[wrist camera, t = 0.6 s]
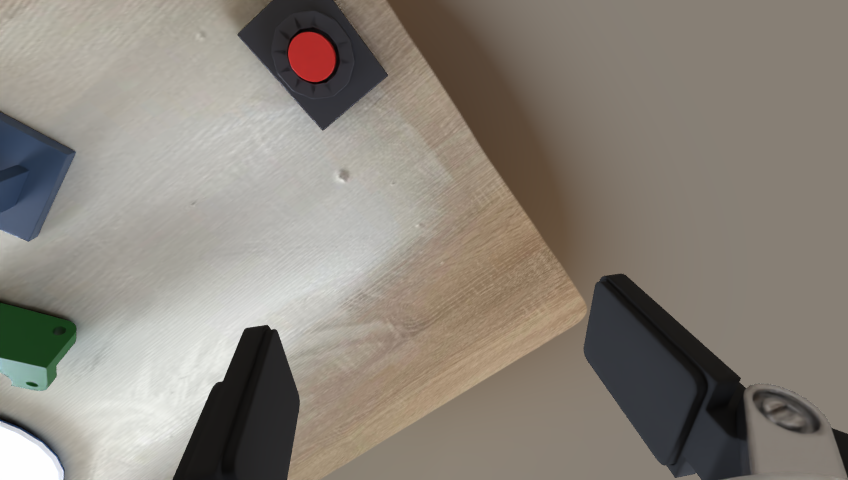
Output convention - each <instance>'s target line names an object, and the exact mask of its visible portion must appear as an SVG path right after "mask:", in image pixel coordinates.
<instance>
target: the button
mask: <svg viewBox="0 0 848 480" xmlns="http://www.w3.org/2000/svg"><path fill="white" fill-rule="evenodd" d="M288 57H289V62H290V64H291V67H292V68H293V70H294V71H295V73H296V74H297V75H298V76H300V77H301V78H303V79H305V80H307V81H311V82H318V81H322V80H324V79H326V78H327V77H328V76H329V75H330V74H331V73H332V72H333V70H334V68H335V65H336V53H335V50H334V47H333V46H332V44H331V42H330V41H329V40H328V39H327V38H326V37H324V36H323V35H321V34H319V33H315V32H303V33H300V34H298V35H297V36H296V37H294V39H293V40H292V41H291V43H290V46H289V50H288Z"/></svg>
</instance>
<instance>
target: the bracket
mask: <svg viewBox="0 0 848 480" xmlns="http://www.w3.org/2000/svg"><path fill="white" fill-rule="evenodd" d="M75 153H76V152H75V151H73V150H71V149H69V148H68V147H66V146H64V145H62V144H60V143H58V142H56V141H54V140H52V139H51V138H49V137H47V136H45V135H43V134H41V133H39V132H37V131H35V130H34V129H32V128H30V127H28V126H26V125H24V124H22V123H20V122H18V121H17V120H15V119H13V118H11V117H9V116H7V115H5V114H3V113H1V112H0V230H2V231H5V232H7V233H9V234H12V235H14V236H16V237H19V238H21V239H23V240H26V241H28V242H29V241H31V240H32V239H34V238H36V237H37V236H38V234H39V232H40V230H41V227H42V225H43V223H44V221H45V219H46V216H47V214H48V212H49V210H50V208H51V206H52V203H53V201H54V199H55V197H56V195H57V192H58V190H59V188H60V186H61V184H62V182H63V179H64V177H65V175H66V173H67V171H68V168H69V166H70V164H71V162H72V160H73V158H74V155H75Z"/></svg>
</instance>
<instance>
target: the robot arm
mask: <svg viewBox="0 0 848 480" xmlns="http://www.w3.org/2000/svg"><path fill="white" fill-rule="evenodd" d="M584 354H585V357H586V359H587V361H588V362H589V363H590V365H591V366H592V368H593V369H594V371H595V372H596V373H597V375H598V376H599V378H600V379H601V381H602V382H603V384H604V385H605V386H606V388H607V389H608V391H609V392H610V393H611V395H612V396H613V398H614V399H615V401H616V402H617V403H618V405H619V406H620V408H621V409H622V411H623V412H624V413H625V414H626V416H627V418H628V419H629V421H630V422H631V423H632V425H633V426H634V427H635V429H636V431H637V432H638V433H639V435H640V436H641V438H642V439H643V441H644V442H645V443H646V445H647V446H648V448H649V449H650V451H651V452H652V453H653V455H654V456H655V458H656V459H657V460H658V461H659V462H660V463H661V464H662V465H666V466H667V467H668V468H669V470H670V471H671V472H672V474H673V475H674V477H675V478H677V477H682V476H687V475H692V474H695V473H697V474H698V476H699V477H700V478H701V480H848V434H846V433H844V432H841V431H838V430H835V429H833V428H831V426H830V423H829V422H828V420H827V418H826V416H825V415H824V414H823V413H822V412H821V411H820V410H819V409H818V407H816V406H815V405H814V404H812V403H811V402H809V401H808V400H807V399H806V398H804V397H802V396H800V395H799V394H796V393H795V392H793V391H790V390H788V389H785V388H783V387H780V386H776V385H771V384H754V385H750V386H749V387H748V388H747V389H746V388H745V387H744V386H743V385H742V384H741V383H739V381H740V379H741V378H740V377H739V376H738V375H737V374H736V373H735V372H733V371H732V370H731V369H730V368H729V367H728V366H726V365H725V364H724V363H723V362H722V361H721V360H720V359H719V358H718V357H717V356H715V355H714V354H713V353H712V352H711V351H710V350H709V349H708V348H707V347H705V346H704V345H703V344H702V343H701V342H700V341H699V340H697V339H696V338H695V337H694V336H693V335H692V334H691V333H690V332H689V331H688V330H686V329H685V328H684V327H683V326H682V325H681V324H680V323H679V322H677V321H676V320H675V319H674V318H673V317H672V316H671V315H670V314H668V313H667V312H666V311H665V310H664V309H663V308H662V307H661V306H660V305H658V304H657V303H656V302H655V301H654V300H653V299H652V298H651V297H649V296H648V295H647V294H646V293H645V292H644V291H643V290H642V289H640V288H639V287H638V286H637V285H636V284H635V283H634V282H633V281H631V280H630V279H629V278H628V277H627V276H626V275H624V274H615V275H609V276H603V277H602V278H601V279H600V281H599V282H597V283H596V285H595V289H594V294H593V300H592V306H591V310H590V316H589V322H588V327H587V332H586V338H585V344H584ZM299 406H300V400H299V394H298V391H297V388H296V385H295V382H294V379H293V376H292V373H291V370H290V367H289V364H288V361H287V358H286V355H285V352H284V349H283V346H282V343H281V340H280V337H279V334H278V332H277V330H276V329H273V330H271V329H270V327H269V326H268V325H264V326H257V327H250V328H246V329H245V330H244V331H243V334H242V336H241V338H240V341H239V343H238V346H237V348H236V351H235V353H234V356H233V358H232V360H231V363H230V365H229V368H228V370H227V373H226V375H225V378H224V380H223V381H222V382H217V383H216V384H215V385H214V386H213V388H212V390H211V392H210V394H209V396H208V399H207V401H206V403H205V406H204V408H203V410H202V413H201V415H200V417H199V420H198V422H197V424H196V427H195V429H194V431H193V433H192V436H191V438H190V440H189V443H188V445H187V447H186V450H185V452H184V454H183V457H182V459H181V461H180V463H179V466H178V468H177V470H176V473H175V475H174V477H173V480H287V477H288V471H289V465H290V459H291V453H292V447H293V442H294V436H295V430H296V424H297V418H298V413H299Z"/></svg>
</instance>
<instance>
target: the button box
mask: <svg viewBox="0 0 848 480" xmlns="http://www.w3.org/2000/svg"><path fill="white" fill-rule="evenodd" d="M303 32H315V33H319V34H321V35H323V36H324V37H326V38H327V39H328V40H329V41H330V42H331V44H332V46H333V47H334V50H335V53H336V65H335V68H334V70H333V72H332V73H331V74H330V75H329V76H328V77H327V78H326V79H324V80H322V81H318V82H311V81H307V80H305V79H303V78H301V77H300V76H298V75H297V74H296V73H295V71H294V70H293V68H292V67H291V64H290V62H289V57H288V50H289V46H290V43H291V41H292V40H293V39H294V37H296V36H297V35H298V34H300V33H303ZM238 36H239V37H240V39H241V40H242V41H243V42H244V43H245V44H246V45H247V46H248V48H249V49H250V50H251V51H252V52H253V53H254V54H255V55H256V56H257V58H258V59H259V60H260V61H261V62H262V63H263V64H264V65H265V67H266V68H267V69H268V70H269V71H270V72H271V73H272V74H273V76H274V77H275V78H276V79H277V80H278V81H279V82H280V83H281V85H282V86H283V87H284V88H285V89H286V90H287V91H288V92H289V93H290V95H291V96H292V97H293V98H294V99H295V100H296V101H297V102H298V104H299V105H300V106H301V107H302V108H303V109H304V110H305V111H306V113H307V114H308V115H309V116H310V117H311V118H312V119H313V120H314V121H315V123H316V124H317V125H318V126H319V127H320V128H321V129H322V130H324V129H326V128H327V127H328V126H329V125H330V124H332V123H333V122H334V121H335V120H336V119H337V118H339V117H340V116H341V115H342V114H343V113H344V112H346V111H347V110H348V109H349V108H350V107H352V106H353V105H354V104H355V103H356V102H357V101H359V100H360V99H361V98H362V97H363V96H365V95H366V94H367V93H368V92H369V91H370V90H372V89H373V88H374V87H375V86H376V85H377V84H379V83H380V82H381V81H382V80H383V79H385V78H386V77H387V76H388V75H387V73H386V72H385V70H384V69H383V68H382V66H381V65H380V64H379V62H378V61H377V59H376V58H375V57H374V55H373V54H372V53H371V51H370V50H369V49H368V47H367V46H366V44H365V43H364V42H363V40H362V39H361V38H360V36H359V35H358V34H357V32H356V31H355V29H354V28H353V27H352V25H351V24H350V23H349V21H348V20H347V18H346V17H345V16H344V14H343V13H342V12H341V10H340V9H339V8H338V6H337V5H336V3H335V2H334V1H333V0H272V1H271V2H270V3H269V4H268V5H267V6H266V7H265V8H264V9H263V10H262V11H261V12H260V13H259V14H258V15H257V16H256V17H255V18H254V19H253V20H252V21H251V22H250V23H249V24H248V25H247V26H245V27H244V28H243V29H242V30H241V31H240V32H239V33H238Z"/></svg>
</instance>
